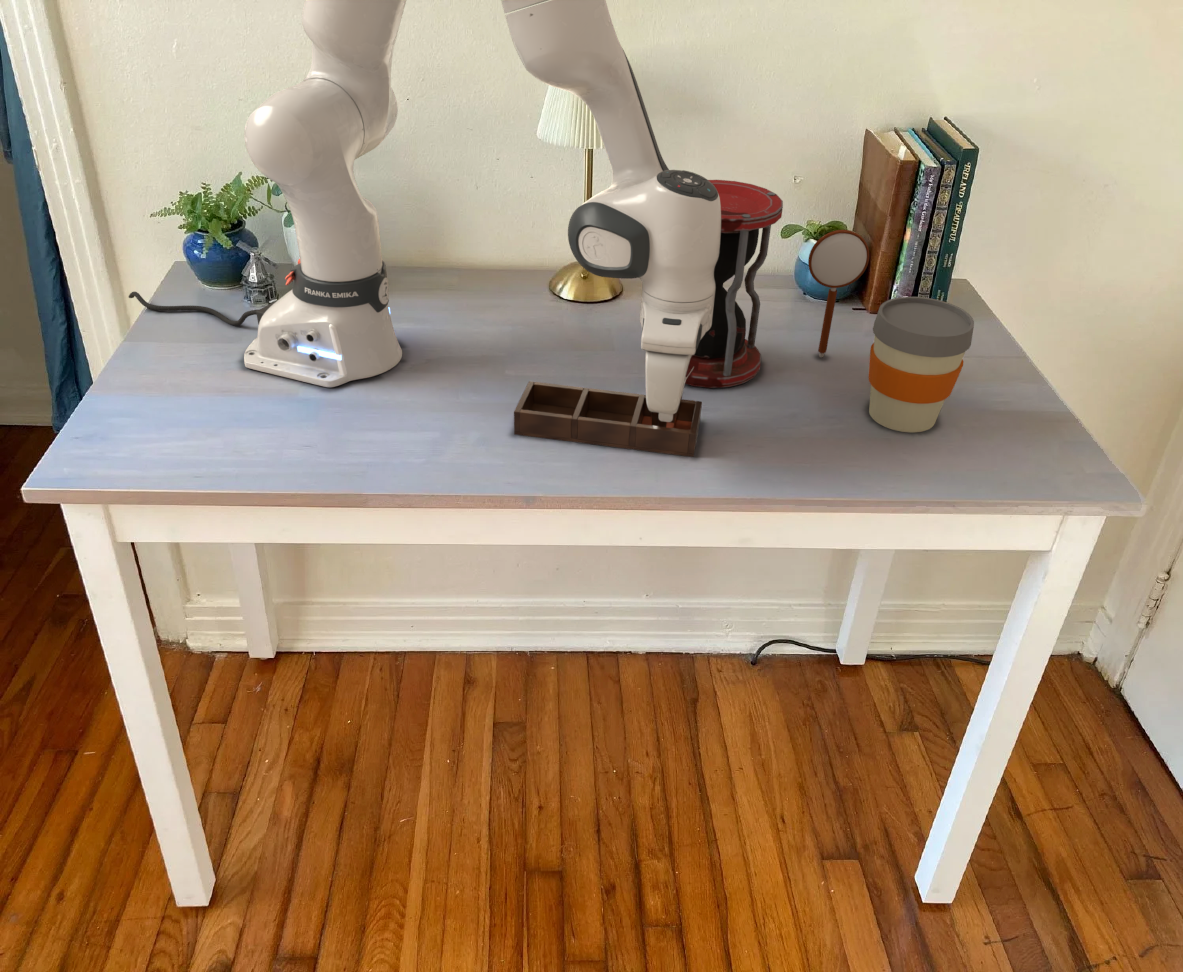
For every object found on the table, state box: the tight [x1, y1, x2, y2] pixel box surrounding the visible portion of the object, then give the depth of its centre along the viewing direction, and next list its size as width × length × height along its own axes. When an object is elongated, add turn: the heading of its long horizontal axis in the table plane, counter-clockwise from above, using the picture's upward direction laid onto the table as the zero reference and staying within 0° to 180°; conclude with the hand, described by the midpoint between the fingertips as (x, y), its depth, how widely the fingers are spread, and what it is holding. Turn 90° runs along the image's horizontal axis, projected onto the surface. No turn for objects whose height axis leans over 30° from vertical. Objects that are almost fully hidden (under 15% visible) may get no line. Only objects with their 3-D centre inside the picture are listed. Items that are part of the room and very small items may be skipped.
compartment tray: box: [513, 380, 703, 458], centre depth 132 cm, size 24×8×4 cm, turn 80°
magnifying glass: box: [807, 229, 870, 358], centre depth 146 cm, size 9×2×20 cm, turn 91°
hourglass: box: [685, 179, 784, 389], centre depth 142 cm, size 16×16×25 cm
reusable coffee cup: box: [867, 296, 975, 433], centre depth 134 cm, size 13×13×15 cm
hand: (668, 408), depth 129 cm, fingers closed on milkshake, 4 cm apart
